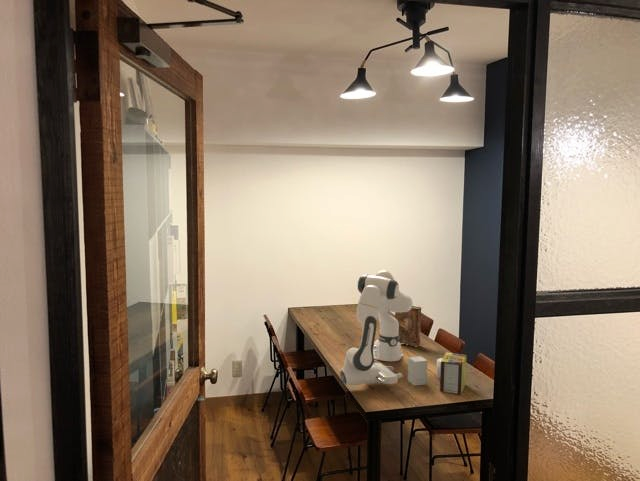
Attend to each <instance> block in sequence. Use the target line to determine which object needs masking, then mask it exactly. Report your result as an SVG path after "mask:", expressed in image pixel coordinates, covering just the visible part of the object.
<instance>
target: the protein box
mask: <svg viewBox="0 0 640 481" xmlns="http://www.w3.org/2000/svg"><path fill="white" fill-rule="evenodd" d="M442 358H443V359H442V360H441V374H440V379H439V380H440V381H439V383H440V384H439V392H442V393H447V394H452V395H458V396H459V395H460V396H462V394H463V392H464V389H465V386H466V380H467V376H466V375H467V355H466V354H459V353H454V352H453V353H452V352H445V354H444V355H443V357H442Z"/></svg>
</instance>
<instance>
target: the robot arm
mask: <svg viewBox="0 0 640 481" xmlns="http://www.w3.org/2000/svg"><path fill="white" fill-rule="evenodd" d="M357 291H358V292H359V293H360V296H359V299H358V304H357V308H356V312H355V314H356V319H357V321H358V322H359V324H360V325H361V327H362V334H361V340H360V344H359V347H349V349H348V350H346V352H345V354H344V355H345V356H344V363H343V366H342V368H341V369H340V374H339V375H340V379H341V382H342V383H343V384H344V385H346V386H347V387H348V386H351V387H354V386H362V385H373V384H378V383H379V382H380V383H382V384H383V385H384V384H386V385H391V384H393V385H394V384H397V383H398V381H399V380H398V379H399V378H403V373H402V372H398V373H394V372H393V371H394V369H395V368H394V366H388V365H384V364H382V363H381V362H375V360H377V361H384V362H398V361H400V360H401V359H402V358H404V354H402V344H401V343H400V342H399V322H398V321H397V319H395V316H394V317H393V316H392V315H391V314H390V312H391V313H395V312H399V313H402V312H408V311H410V309H411V308H412V306H413V299H412V297H411V296H410V295H408V294H405V293H404V292H402V291H401V290H400V288H399V283H398V281H397V280H395V278H394V276H393V275H392V272H390V271H388V270H385V269H383V270H380V271H378V272H377V273H376V275H369V274H362V275H361V276H360V277H359V279H358V280H357ZM378 322H379V333H378V335H377V336H378V338H377V339H375V338H376V334H377V327H378V326H377V324H378Z"/></svg>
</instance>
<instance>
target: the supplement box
mask: <svg viewBox="0 0 640 481" xmlns="http://www.w3.org/2000/svg"><path fill="white" fill-rule="evenodd" d="M407 358H408V360H407V362H408V364H407V381H408V382H409V383H410V384H411V385H413V386H416V387H417V386H423V385H427V384H428V380H427V379H428V377H427V376H428V360H427V359H425V357H422V356H420V355H419V356H412V357H410V356H409V357H407Z"/></svg>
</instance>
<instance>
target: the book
mask: <svg viewBox="0 0 640 481" xmlns="http://www.w3.org/2000/svg"><path fill="white" fill-rule="evenodd" d="M394 318H395V319H397V321H398V322H399V342H400V343H404V344H408V345H412V346H419V345H420V346H421V327H422V326H421V325H422V324H421V323H422V307H421V306H415V305H412V308H411V309H410V311H408V312H402V313H399V312H394ZM412 346H411V347H412Z"/></svg>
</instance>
